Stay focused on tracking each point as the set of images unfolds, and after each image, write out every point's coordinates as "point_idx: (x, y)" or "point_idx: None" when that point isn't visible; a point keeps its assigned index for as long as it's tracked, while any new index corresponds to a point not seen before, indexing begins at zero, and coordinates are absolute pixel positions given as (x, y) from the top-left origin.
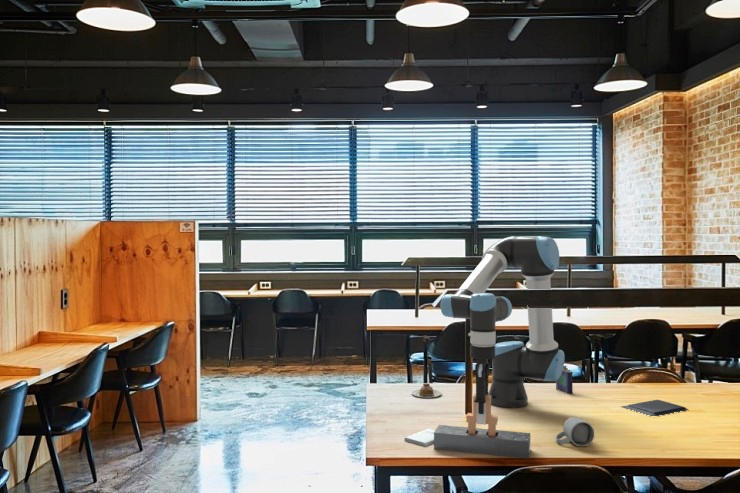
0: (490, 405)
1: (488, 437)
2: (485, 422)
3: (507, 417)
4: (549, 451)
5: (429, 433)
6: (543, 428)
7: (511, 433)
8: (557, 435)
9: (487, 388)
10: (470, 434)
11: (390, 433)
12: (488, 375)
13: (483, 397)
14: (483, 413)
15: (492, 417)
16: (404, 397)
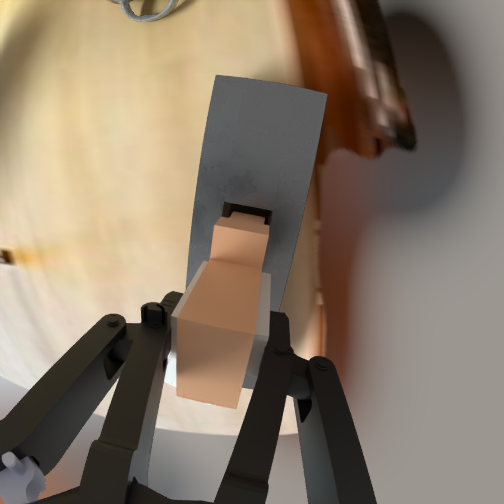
0: (226, 291)
1: (291, 246)
2: (270, 279)
3: (5, 168)
4: (236, 37)
5: (167, 365)
6: (54, 71)
7: (229, 149)
8: (132, 16)
9: (107, 346)
10: None
11: (176, 413)
12: (129, 468)
13: (339, 387)
14: (273, 311)
15: (257, 255)
16: (7, 352)
